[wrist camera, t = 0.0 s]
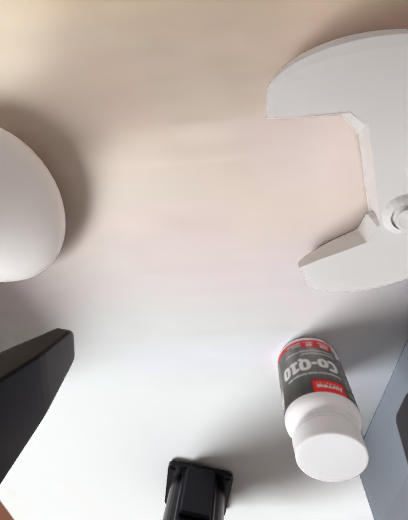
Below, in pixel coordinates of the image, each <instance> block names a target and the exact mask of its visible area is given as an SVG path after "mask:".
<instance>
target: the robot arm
mask: <svg viewBox="0 0 408 520" xmlns="http://www.w3.org/2000/svg"><path fill="white" fill-rule="evenodd" d="M73 360H74V336H73V332H72V331H70V330H66V329H60V328H57V329H54V330H52V331H50V332H47V333H45V334H43V335H40V336H38V337H36V338H33V339H31V340H29V341H26V342H24V343H22V344H19V345H17V346H15V347H12V348H10V349H8V350H5V351H3V352H1V353H0V484H1V482H2V481H3V479H4V478H5V476H6V474H7V473H8V471H9V470H10V468H11V467H12V465H13V464H14V462H15V461H16V459H17V458H18V456H19V455H20V453H21V451H22V450H23V448H24V447H25V445H26V444H27V442H28V441H29V439H30V438H31V436H32V435H33V433H34V432H35V430H36V429H37V427H38V425H39V424H40V422H41V421H42V419H43V418H44V416H45V414H46V413H47V411H48V409H49V407H50V405H51V403H52V401H53V400H54V398H55V396H56V394H57V392H58V390H59V388H60V386H61V384H62V382H63V380H64V378H65V376H66V374H67V372H68V371H69V369H70V367H71V365H72V363H73ZM396 425H397V428H398V432H399V435H400V439H401V443H402V446H403V450H404V453H405V457H406V460H407V464H408V393H407V394H406V395H405V397H404V399H403V401H402V403H401V406H400V408H399V410H398V412H397V414H396ZM232 481H233V475H232V473H230V472H226V471H221V470H216V469H211V468H206V467H201V466H196V465H191V464H186V463H181V462H177V461H171V462H170V463H169V467H168V475H167V485H166V495H165V503H166V508H165V512H164V517H163V520H224V515H225V512H226V508H227V503H228V499H229V494H230V490H231V486H232Z"/></svg>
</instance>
